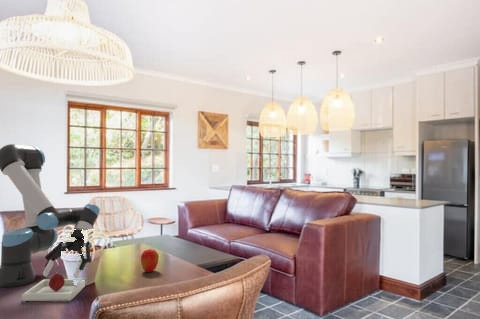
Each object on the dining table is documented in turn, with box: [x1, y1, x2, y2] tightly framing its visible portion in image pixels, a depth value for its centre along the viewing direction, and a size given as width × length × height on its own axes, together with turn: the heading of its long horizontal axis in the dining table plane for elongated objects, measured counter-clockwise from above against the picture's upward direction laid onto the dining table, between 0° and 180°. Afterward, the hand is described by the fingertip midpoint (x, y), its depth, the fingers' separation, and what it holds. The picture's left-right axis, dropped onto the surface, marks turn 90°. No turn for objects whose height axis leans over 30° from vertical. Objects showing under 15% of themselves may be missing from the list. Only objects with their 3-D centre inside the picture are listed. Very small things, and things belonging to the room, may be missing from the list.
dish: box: [21, 278, 86, 303], centre depth 139 cm, size 18×18×3 cm
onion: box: [49, 271, 65, 291], centre depth 139 cm, size 6×6×8 cm
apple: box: [140, 249, 160, 273], centre depth 172 cm, size 9×9×12 cm
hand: (59, 276), depth 140 cm, fingers open, 13 cm apart
